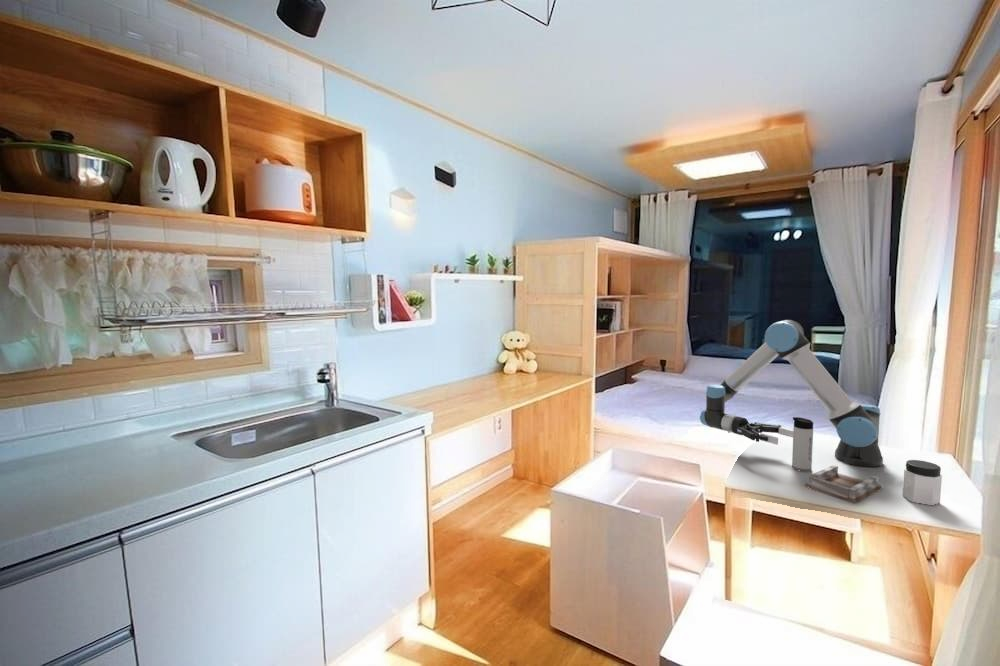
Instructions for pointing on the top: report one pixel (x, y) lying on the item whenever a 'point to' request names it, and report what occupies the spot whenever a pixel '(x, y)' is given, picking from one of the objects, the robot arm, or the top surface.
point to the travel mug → (802, 444)
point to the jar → (922, 482)
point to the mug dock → (842, 485)
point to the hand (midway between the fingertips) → (787, 437)
